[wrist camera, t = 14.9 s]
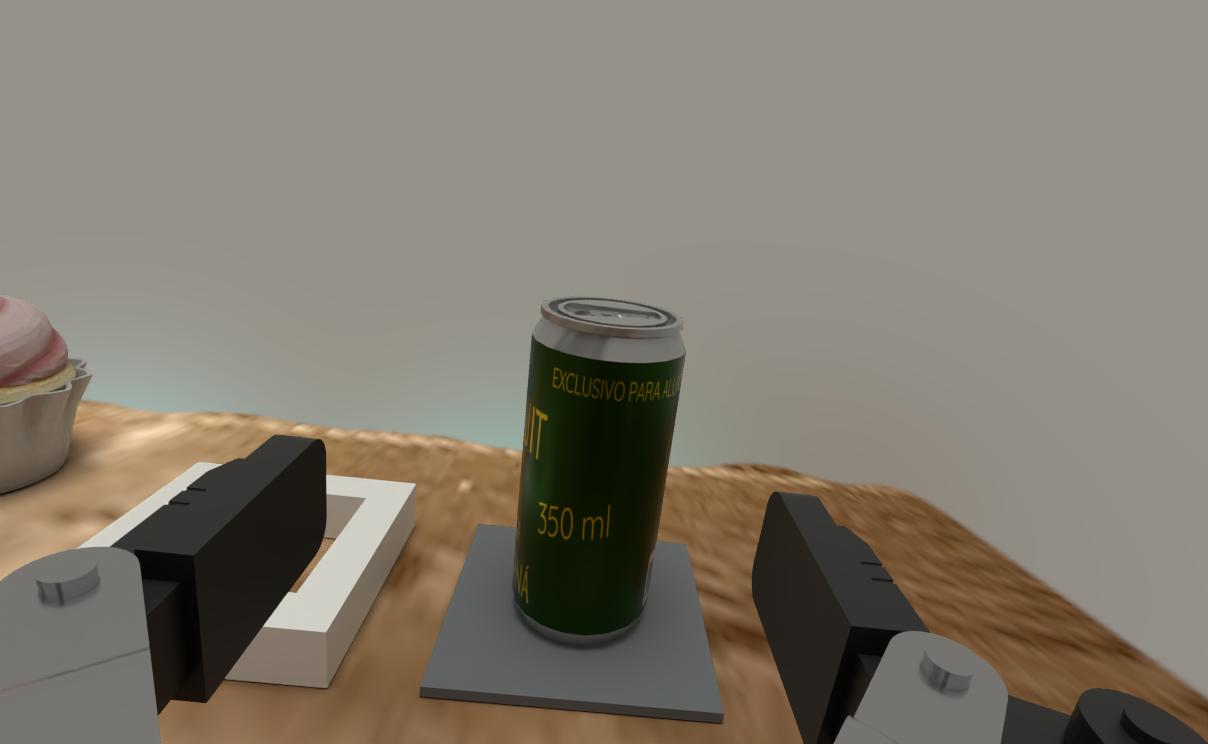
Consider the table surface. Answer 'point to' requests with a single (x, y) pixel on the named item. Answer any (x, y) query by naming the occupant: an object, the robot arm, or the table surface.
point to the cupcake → (35, 395)
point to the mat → (574, 673)
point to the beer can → (594, 464)
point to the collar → (314, 577)
